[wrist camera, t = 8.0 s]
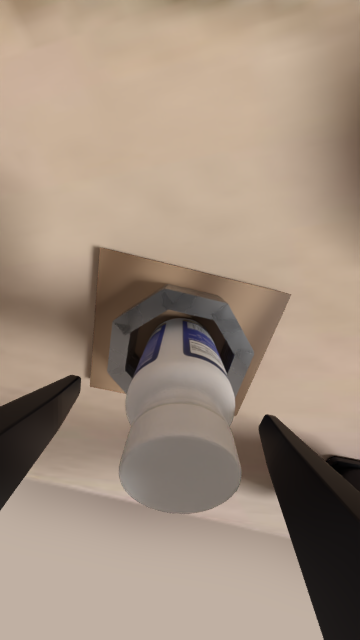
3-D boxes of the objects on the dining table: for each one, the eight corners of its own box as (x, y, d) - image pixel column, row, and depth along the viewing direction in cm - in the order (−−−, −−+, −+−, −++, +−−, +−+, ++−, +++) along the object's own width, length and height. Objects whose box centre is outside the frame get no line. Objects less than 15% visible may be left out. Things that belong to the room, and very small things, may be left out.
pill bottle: (159, 378, 15) (127, 532, 6) (140, 324, 13) (65, 435, 5) (218, 367, 14) (269, 516, 6) (207, 309, 13) (254, 402, 4)
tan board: (283, 292, 13) (291, 294, 12) (233, 407, 17) (236, 415, 16) (106, 248, 12) (99, 247, 11) (95, 379, 16) (89, 386, 15)
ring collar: (254, 304, 12) (271, 313, 10) (217, 400, 15) (223, 425, 13) (130, 274, 12) (117, 277, 10) (116, 380, 15) (103, 402, 13)
